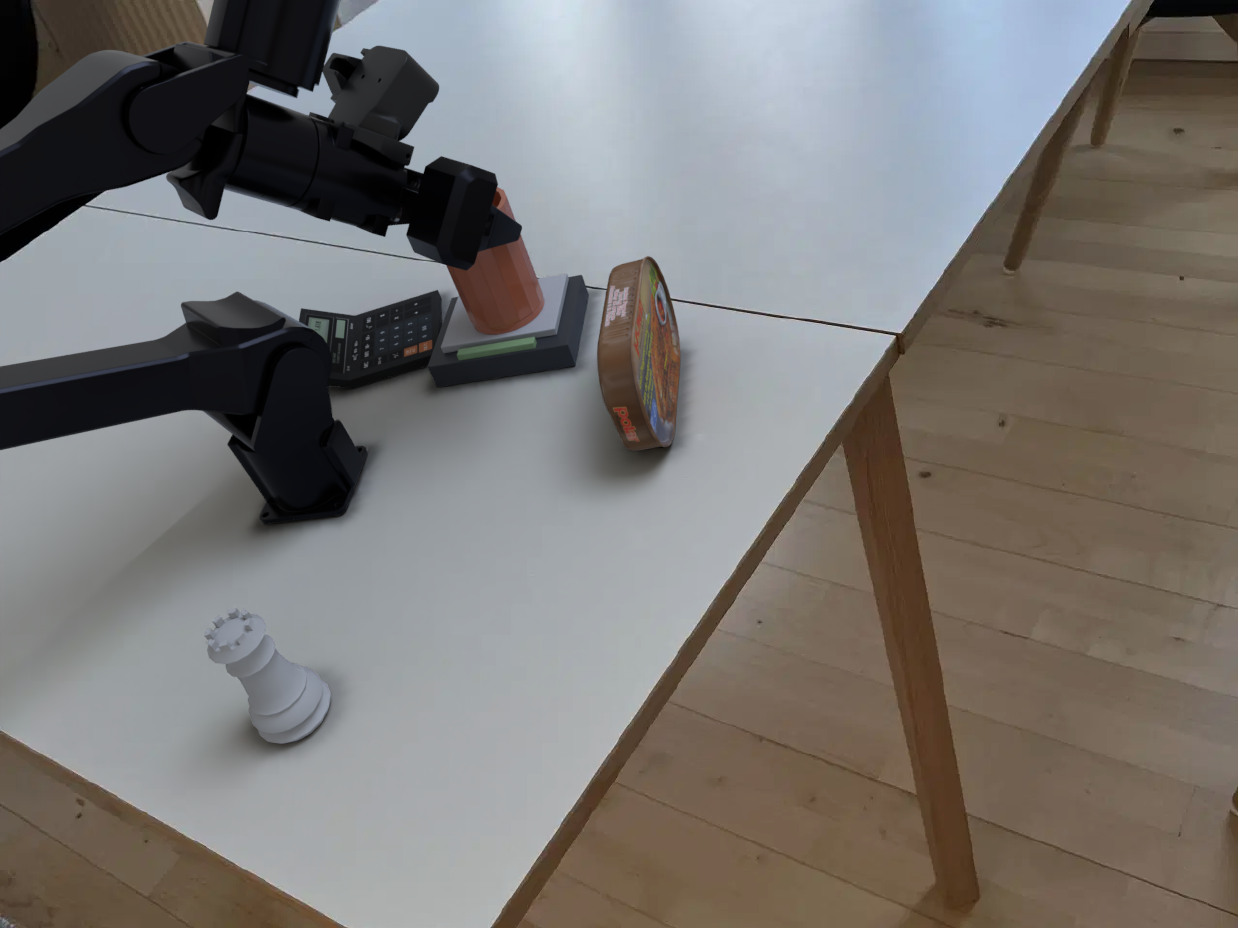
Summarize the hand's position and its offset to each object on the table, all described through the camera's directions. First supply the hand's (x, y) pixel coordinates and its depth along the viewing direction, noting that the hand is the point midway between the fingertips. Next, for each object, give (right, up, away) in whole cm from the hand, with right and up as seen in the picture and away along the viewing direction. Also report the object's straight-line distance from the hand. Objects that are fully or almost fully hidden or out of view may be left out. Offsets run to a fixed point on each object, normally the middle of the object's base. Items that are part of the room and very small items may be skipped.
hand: (488, 222), depth 77 cm
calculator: (-10, -8, +10) cm, 17 cm away
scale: (+1, -8, +5) cm, 10 cm away
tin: (+12, -13, -4) cm, 18 cm away
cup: (+1, -6, +4) cm, 7 cm away
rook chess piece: (-9, -32, -16) cm, 37 cm away
